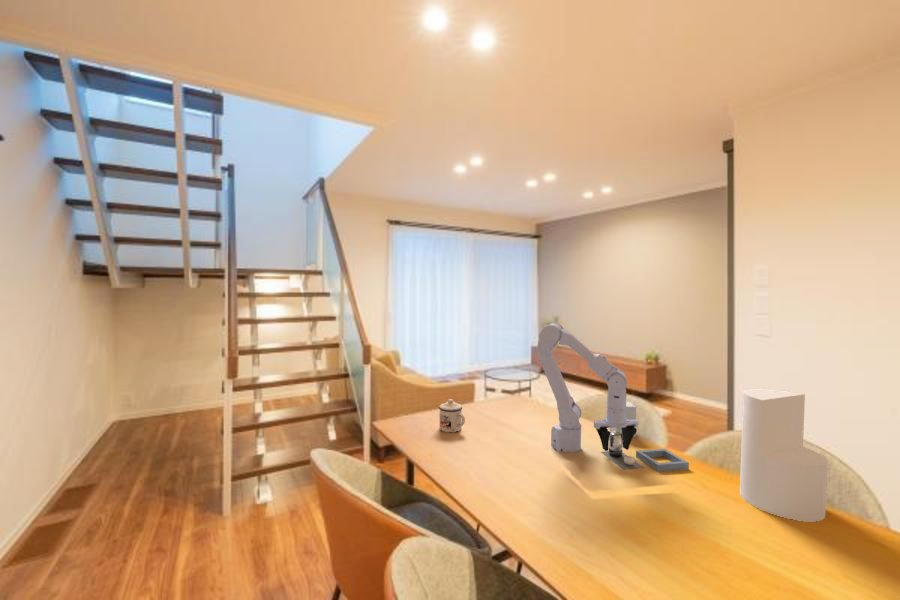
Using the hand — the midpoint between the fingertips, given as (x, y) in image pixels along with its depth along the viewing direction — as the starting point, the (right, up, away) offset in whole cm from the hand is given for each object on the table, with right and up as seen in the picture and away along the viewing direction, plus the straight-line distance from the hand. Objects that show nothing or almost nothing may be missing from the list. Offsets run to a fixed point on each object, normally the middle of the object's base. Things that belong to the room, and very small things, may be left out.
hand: (615, 449), depth 130 cm
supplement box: (+11, -3, +20) cm, 23 cm away
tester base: (+1, -4, -3) cm, 5 cm away
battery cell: (0, -2, 0) cm, 2 cm away
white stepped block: (+33, -5, -26) cm, 42 cm away
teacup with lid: (-53, -2, +26) cm, 59 cm away
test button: (+1, -2, -7) cm, 8 cm away
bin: (+12, -4, -6) cm, 14 cm away
